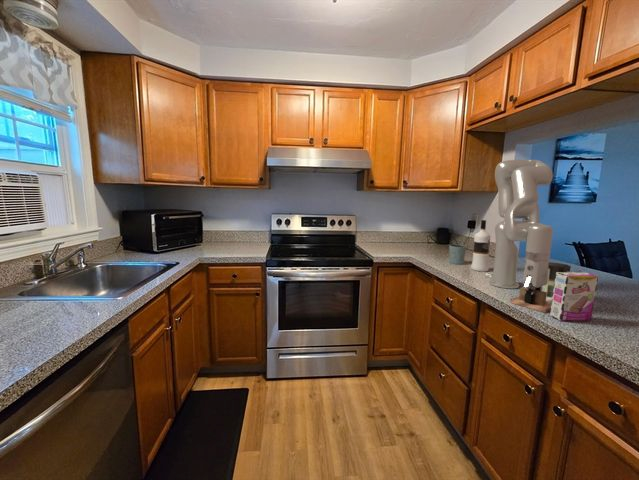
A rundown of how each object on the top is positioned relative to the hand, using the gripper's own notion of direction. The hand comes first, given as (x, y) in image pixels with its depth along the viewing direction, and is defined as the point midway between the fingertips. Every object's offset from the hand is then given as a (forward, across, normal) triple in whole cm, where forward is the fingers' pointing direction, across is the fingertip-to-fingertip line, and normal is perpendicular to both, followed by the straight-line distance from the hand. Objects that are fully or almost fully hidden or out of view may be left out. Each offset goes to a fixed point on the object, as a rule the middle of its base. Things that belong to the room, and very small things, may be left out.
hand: (532, 301), depth 112 cm
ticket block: (+2, +8, 0) cm, 8 cm away
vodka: (+2, +40, +43) cm, 59 cm away
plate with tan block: (+2, 0, 0) cm, 2 cm away
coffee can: (+2, +21, +1) cm, 21 cm away
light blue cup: (+2, +45, +61) cm, 76 cm away
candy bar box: (+2, -2, -13) cm, 13 cm away
